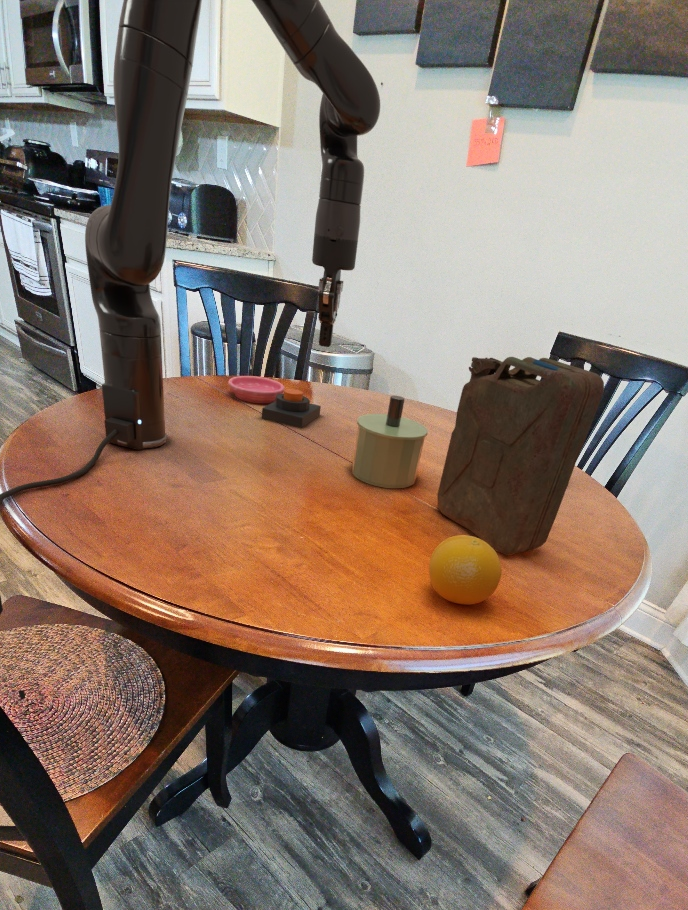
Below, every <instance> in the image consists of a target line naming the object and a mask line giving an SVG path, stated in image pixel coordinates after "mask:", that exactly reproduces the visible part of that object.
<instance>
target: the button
mask: <svg viewBox="0 0 688 910" xmlns="http://www.w3.org/2000/svg"><path fill="white" fill-rule="evenodd" d="M283 393H284V397H283V399H286V400H289V401H297V402H298V401H302V399H303V396H304V392H303V390H300V389H297V388H284V392H283Z"/></svg>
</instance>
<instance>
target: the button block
mask: <svg viewBox="0 0 688 910" xmlns="http://www.w3.org/2000/svg"><path fill="white" fill-rule="evenodd" d="M283 397H284V392H283V394H278V395H276V401H275V402H272V403H268V404H267V405H265V406H263V407H262V408H261V420H266V421H270V422H273V423H278V424H282V425H287V426H289V427H294V428H299V429H303V428H305V427H306V426H307V425H309V424H310V423H312V422H313V421H315V420H316V419H318V418H319V417H320V416H321V407H322V406H321V405H319V404H314V403H311V400H310V399H309V397H306V396H304V395H303V399H302V401H298V402H297V401H289V400H286V399H283Z"/></svg>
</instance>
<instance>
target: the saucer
mask: <svg viewBox="0 0 688 910" xmlns="http://www.w3.org/2000/svg"><path fill="white" fill-rule="evenodd" d="M228 387H229V389H230V390H231V392H232V393H233V394H234V396H235V397H236V398H237V399H238V400H241V401H243V402H247V403H253V404H264V405H265V404H271V403H273V402H275V401H276V395H278V394H283V393H284V390H285V386H284V384H282V383H281V382H279V381H277V380H275V379H271V378H268V377H262V376H254V375H238V376H233V377H231V378H230V379H229V380H228Z"/></svg>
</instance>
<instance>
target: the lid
mask: <svg viewBox="0 0 688 910" xmlns="http://www.w3.org/2000/svg"><path fill="white" fill-rule="evenodd" d="M404 404H405V397H403V396H400V395H396V394H395V395H390V397H389V403H388V408H387V413H366V414H362V415H360V416H358V417H357V420H356V424H357V427H358V426H359V427H360V428H362V429H363V430H365V431H367V432H369V433H372V434H374V435H378V436H381V437H385V438H391V439H397V440H418V439H422V438H424V437H425V438H426V437H427V436H428V432H429V430H428V428H427V427H426V426H425V425H424V424H422V423H420V422H418V421H416V420H414V419H411V418H408V417H403V416H402V415H403V410H404V406H405V405H404Z"/></svg>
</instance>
